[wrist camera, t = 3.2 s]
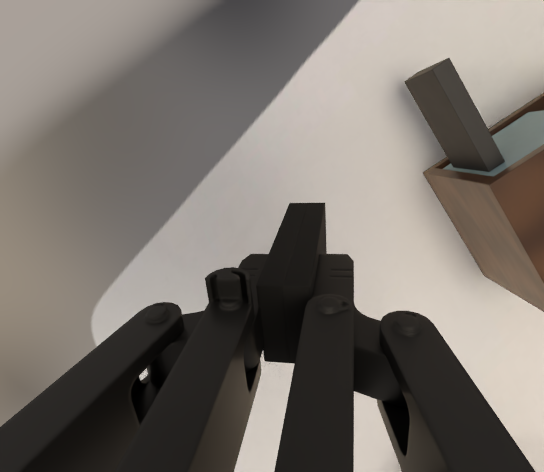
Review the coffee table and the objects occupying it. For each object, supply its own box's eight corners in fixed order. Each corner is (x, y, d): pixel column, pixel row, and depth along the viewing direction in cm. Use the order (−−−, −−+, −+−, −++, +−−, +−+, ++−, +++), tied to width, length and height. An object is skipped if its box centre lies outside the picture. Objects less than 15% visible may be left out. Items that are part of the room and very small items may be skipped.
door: (394, 87, 30) (437, 67, 23) (483, 24, 29) (559, -18, 22) (445, 175, 32) (501, 184, 24) (531, 118, 31) (618, 110, 23)
